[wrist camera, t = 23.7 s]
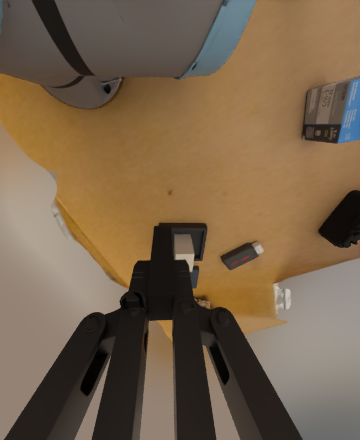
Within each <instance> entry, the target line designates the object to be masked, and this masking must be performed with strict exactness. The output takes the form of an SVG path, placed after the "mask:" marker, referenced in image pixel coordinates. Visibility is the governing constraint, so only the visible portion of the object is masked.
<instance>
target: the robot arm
mask: <svg viewBox="0 0 360 440" xmlns="http://www.w3.org/2000/svg"><path fill="white" fill-rule="evenodd" d="M255 2H256V0H0V73H3V74H6V75H9V76H13V77H16V78H20V79H23V80H27V81H30V82H34V83H37V84H40V85H41V86H42V87H43V88H44V89H45V90H46V91H47V92H48V93H50V94H51V95H52V96H53V97H55V98H56V99H58V100H59V101H61V102H63V103H65V104H67V105H70V106H73V107H76V108H82V109H97V108H101V107H103V106H105V105H107V104H108V103H110V102H111V101H112V100H113V99H114V98H115V97H116V95H117V94H118V92H119V90H120V88H121V86H122V83H123V79H124V77H173V78H174V79H177V80H181V79H184V78H186V77H192V76H207V75H210V74H212V73H214V72H216V71H217V70H219V69H220V68H221V67H222V66H223V65H224V64H225V62H226V61H227V60H228V58H229V57H230V56H231V54H232V52H233V51H234V49H235V47H236V45H237V44H238V42H239V40H240V37H241V35H242V33H243V31H244V29H245V27H246V24H247V22H248V20H249V17H250V15H251V12H252V10H253V7H254V5H255ZM120 305H121V308H120V309H118V310H116V311H114V312H111V313H108V314H105V315H104V314H102V313H100V312H94V313H91V314H89V315H88V316H86V317H85V318H84V319H83V320H82V321H81V322H80V324H79V325H78V327H77V328H76V330H75V331H74V333H73V335H72V336H71V338H70V339H69V341H68V342H67V344H66V345H65V347H64V348H63V350H62V351H61V353H60V355H59V356H58V358H57V359H56V361H55V362H54V364H53V365H52V367H51V368H50V370H49V371H48V373H47V374H46V376H45V378H44V379H43V381H42V382H41V384H40V385H39V387H38V388H37V390H36V392H35V393H34V394H33V396H32V398H31V399H30V401H29V402H28V404H27V405H26V407H25V408H24V410H23V411H22V413H21V414H20V416H19V418H18V419H17V421H16V422H15V424H14V425H13V427H12V428H11V430H10V431H9V433H8V435H7V436H6V438H5V439H4V440H74V439H75V437H76V435H77V432H78V430H79V428H80V425H81V423H82V421H83V418H84V416H85V414H86V411H87V409H88V407H89V404H90V402H91V400H92V398H93V395H94V393H95V391H96V388H97V386H98V384H99V381H100V379H101V377H102V374H103V372H104V370H105V368H106V365H107V363H108V360H109V358H110V356H111V358H110V363H109V367H108V371H107V376H106V380H105V384H104V389H103V393H102V397H101V402H100V406H99V410H98V415H97V419H96V423H95V427H94V432H93V436H92V440H139V439H140V428H141V415H142V403H143V392H144V381H145V369H146V355H147V344H148V332H149V331H148V324H149V320H150V321H153V320H154V321H155V320H173V329H172V336H173V374H174V375H173V376H174V377H173V380H174V426H175V427H174V428H175V440H216V434H215V427H214V420H213V414H212V407H211V401H210V394H209V387H208V381H207V374H206V367H205V360H204V353H203V347H202V345H205V346H206V348H207V351H208V353H209V356H210V359H211V361H212V364H213V366H214V369H215V372H216V375H217V377H218V380H219V383H220V386H221V388H222V391H223V393H224V397H225V399H226V402H227V404H228V407H229V410H230V413H231V415H232V418H233V421H234V423H235V426H236V429H237V431H238V434H239V437H240V440H303V439H302V437H301V436H300V434H299V432H298V430H297V429H296V427H295V425H294V423H293V421H292V420H291V418H290V416H289V414H288V412H287V411H286V409H285V407H284V405H283V404H282V402H281V400H280V398H279V397H278V395H277V393H276V391H275V389H274V387H273V386H272V384H271V382H270V381H269V379H268V377H267V375H266V373H265V372H264V370H263V368H262V366H261V364H260V363H259V361H258V359H257V357H256V355H255V354H254V352H253V350H252V348H251V347H250V345H249V343H248V341H247V339H246V338H245V336H244V334H243V332H242V331H241V329H240V327H239V325H238V323H237V322H236V320H235V318H234V316H233V315H232V314H231V312H230V311H229V310H227V309H226V308H223V307H216V308H215V309H213V310H211V309H208V308H205V307H202V306H200V305H199V304H198V303H197V302H196V301H195V299H194V296H193V290H192V283H191V277H190V269H189V264H188V263H187V261H186V260H173V254H172V227H171V226H154V234H153V243H152V251H151V260H147V261H138V262H137V263H136V264H135V266H134V269H133V274H132V279H131V282H130V287H129V291H128V292H126V293H125V294H124V295H123V296H122V297H121V299H120Z"/></svg>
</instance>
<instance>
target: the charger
mask: <svg viewBox="0 0 360 440" xmlns="http://www.w3.org/2000/svg"><path fill="white" fill-rule="evenodd" d="M174 260H186V261H187V263H188V264H189V269H190V272H192V270H193V262H194V249H193V244H192V239H191V234H175V235H174Z"/></svg>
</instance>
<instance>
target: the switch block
mask: <svg viewBox="0 0 360 440" xmlns="http://www.w3.org/2000/svg"><path fill="white" fill-rule="evenodd" d="M198 273H199V267H198V266H193V270H192V272H190V277H191V283H192V288H196V286H197V280H198Z"/></svg>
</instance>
